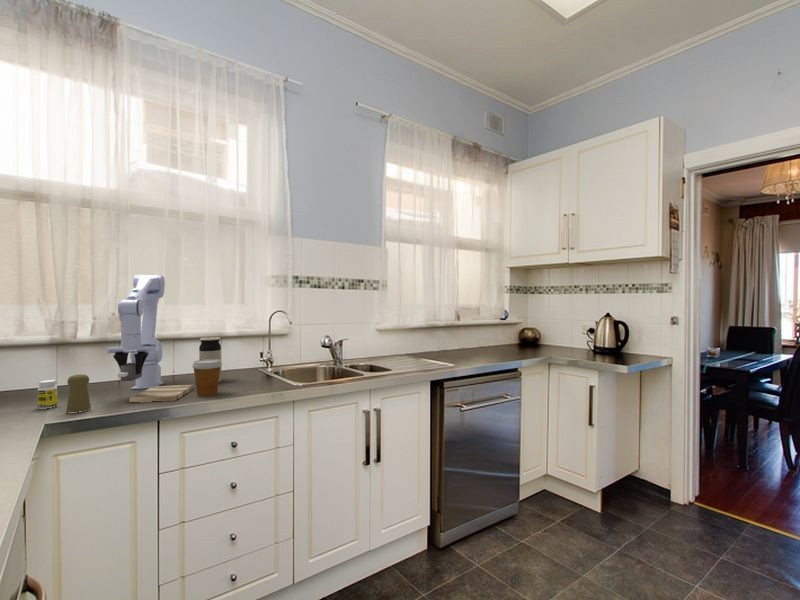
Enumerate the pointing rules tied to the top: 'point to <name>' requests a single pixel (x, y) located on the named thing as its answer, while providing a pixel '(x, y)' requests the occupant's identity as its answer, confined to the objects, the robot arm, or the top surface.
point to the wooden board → (162, 393)
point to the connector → (129, 372)
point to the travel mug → (210, 350)
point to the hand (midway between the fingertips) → (131, 373)
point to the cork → (78, 393)
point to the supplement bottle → (47, 394)
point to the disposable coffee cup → (207, 376)
